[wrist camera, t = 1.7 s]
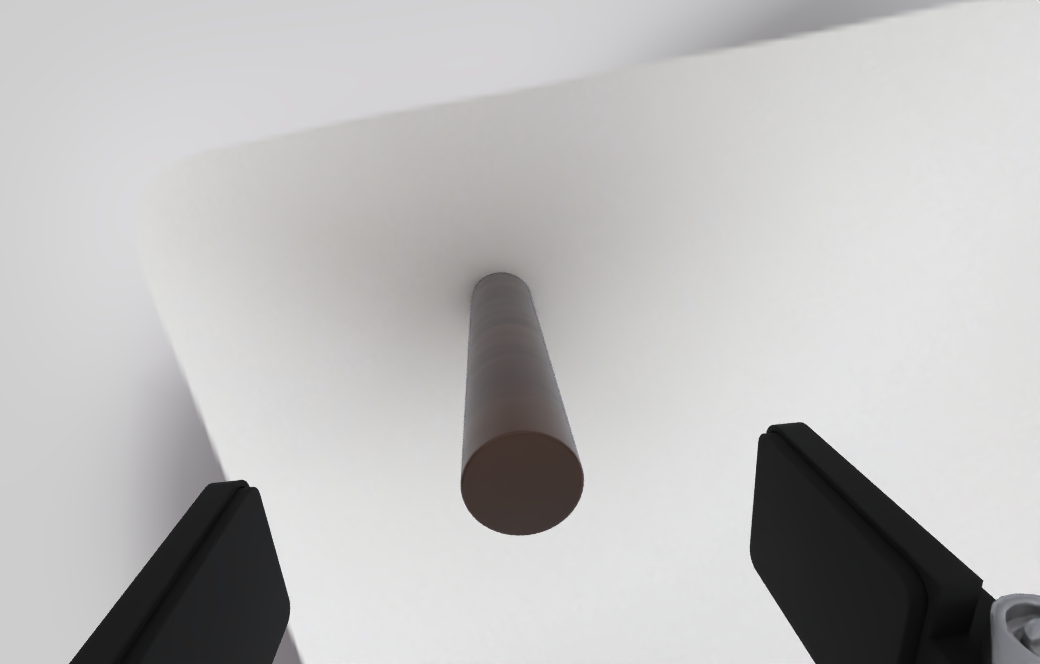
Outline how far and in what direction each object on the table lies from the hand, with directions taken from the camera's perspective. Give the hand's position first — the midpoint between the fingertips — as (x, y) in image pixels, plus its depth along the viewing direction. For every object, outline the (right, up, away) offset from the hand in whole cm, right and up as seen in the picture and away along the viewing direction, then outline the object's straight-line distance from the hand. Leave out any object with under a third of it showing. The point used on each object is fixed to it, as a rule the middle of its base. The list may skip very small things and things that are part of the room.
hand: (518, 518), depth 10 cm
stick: (-1, +5, +12) cm, 13 cm away
